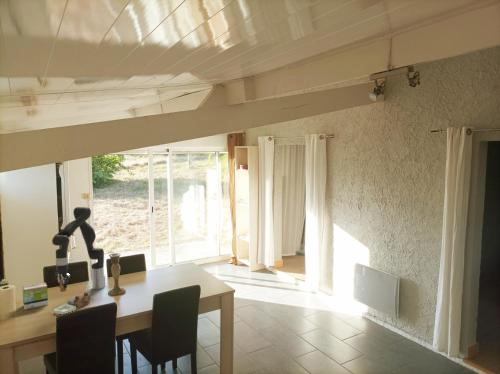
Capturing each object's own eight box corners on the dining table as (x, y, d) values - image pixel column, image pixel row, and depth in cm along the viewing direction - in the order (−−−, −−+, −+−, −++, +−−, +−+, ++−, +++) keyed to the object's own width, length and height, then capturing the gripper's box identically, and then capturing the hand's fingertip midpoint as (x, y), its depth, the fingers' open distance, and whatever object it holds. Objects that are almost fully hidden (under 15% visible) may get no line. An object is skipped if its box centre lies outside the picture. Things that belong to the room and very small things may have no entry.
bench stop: (87, 301, 272) (86, 291, 272) (90, 302, 271) (89, 292, 270) (73, 307, 261) (73, 297, 261) (76, 308, 260) (76, 297, 259)
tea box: (24, 310, 258) (23, 290, 257) (23, 305, 266) (22, 286, 265) (48, 305, 267) (47, 285, 266) (46, 300, 275) (45, 281, 274)
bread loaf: (63, 289, 256) (63, 277, 255) (67, 290, 255) (66, 277, 254) (59, 291, 253) (58, 278, 252) (62, 291, 251) (62, 279, 251)
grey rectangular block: (79, 301, 274) (78, 296, 274) (86, 302, 271) (85, 297, 271) (67, 306, 265) (67, 301, 264) (75, 307, 262) (74, 302, 262)
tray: (66, 307, 262) (65, 304, 261) (76, 310, 258) (75, 306, 257) (53, 313, 252) (53, 309, 252) (64, 315, 248) (63, 311, 248)
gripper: (73, 263, 253) (74, 287, 254) (59, 261, 259) (60, 284, 260) (64, 266, 246) (65, 290, 247) (50, 264, 252) (51, 288, 253)
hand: (63, 287), depth 254 cm, fingers closed on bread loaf, 3 cm apart
